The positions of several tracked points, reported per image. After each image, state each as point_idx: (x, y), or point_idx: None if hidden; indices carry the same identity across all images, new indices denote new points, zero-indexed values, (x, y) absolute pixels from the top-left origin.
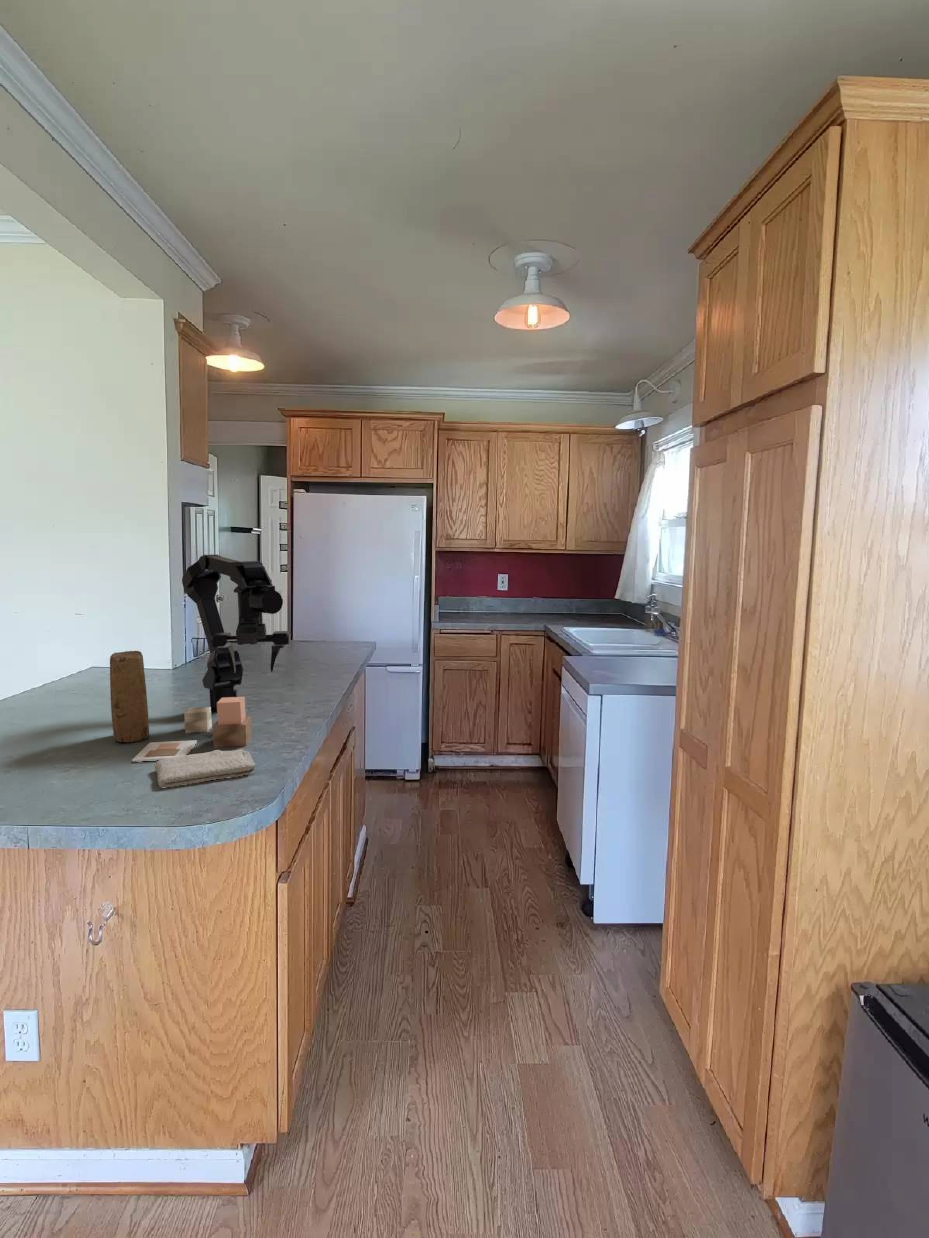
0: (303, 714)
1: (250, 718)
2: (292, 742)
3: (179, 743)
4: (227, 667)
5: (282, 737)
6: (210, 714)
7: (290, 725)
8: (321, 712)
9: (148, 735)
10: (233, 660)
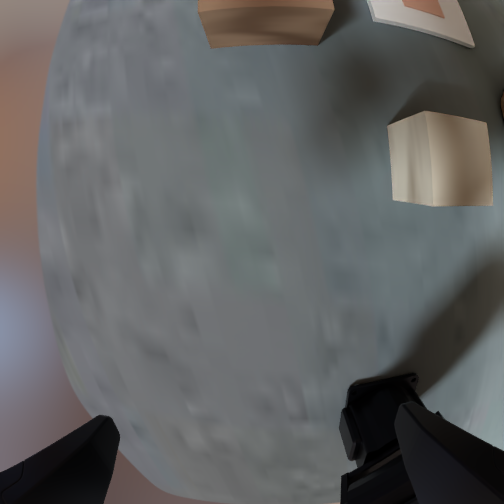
0: (101, 319)
1: (198, 3)
2: (90, 18)
3: (404, 1)
4: (414, 496)
5: (114, 49)
6: (416, 189)
7: (104, 180)
8: (63, 330)
9: (502, 102)
10: (443, 485)
